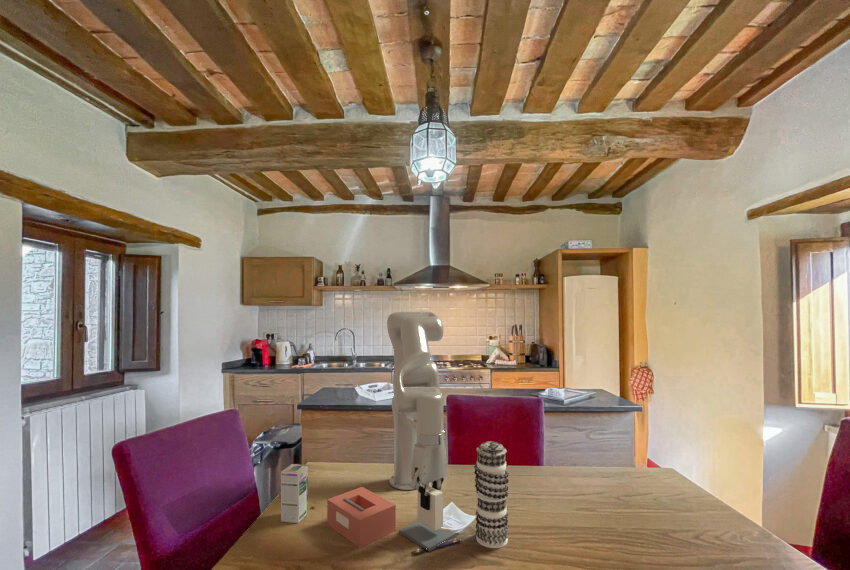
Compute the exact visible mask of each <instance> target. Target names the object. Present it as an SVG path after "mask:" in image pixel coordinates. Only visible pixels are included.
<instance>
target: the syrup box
mask: <svg viewBox="0 0 850 570" xmlns="http://www.w3.org/2000/svg"><path fill="white" fill-rule="evenodd" d="M308 467H309V466H308V464H301V463H294V464H293V463H291V464H289V466H287V467H285V468H284V469H283V470H281V471H280V521H281V522H284V523H292V524H300V522H301V521H302V520H303V519H304V518H305V517H306V516H307V515H308V514H309V496H308V494H309V481H308V480H309V472H308V471H309V468H308Z"/></svg>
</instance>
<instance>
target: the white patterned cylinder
mask: <svg viewBox="0 0 850 570" xmlns="http://www.w3.org/2000/svg"><path fill="white" fill-rule="evenodd" d="M476 451H477V453H476V454H477V458H476V462H475V463H474V466H473V467H474V468H473V469H474V472H473V473H474V474H475V479H474V482H475V484H474V486H475V490H476V491H475V495H476V497H477V503H476V510H475V515H476V516H475V521H476V523H475V528H476V529H475V535H476V536H475V537H476V538H475V539H476V541H477V543H478V544H479V545H481V546H483V547H485V548H489V549H500V548H503V547H505V546H506V545H507V544H508V541H509V540H508V539H509V536H508V535H509V532H508V531H509V526H508V522H509V521H508V520H509V519H508V516H509V514H508V512H507V510H508V509H507V508H508V507H507V505H506V504H507V498H508V497H509V492H507V491H508V490H509V486H508V485H506V484H508V483H509V472H507V471H506V470H507V467H508V464H507V461H506V458H507V457H506V453H507V452H508V450H507V449H506V448H505V447H504V446H503V444H502V443H499V442H497V441H491V440H490V441H484V442H482V443H481V444H480V445H479V446H478V447H476Z"/></svg>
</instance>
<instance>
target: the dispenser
mask: <svg viewBox="0 0 850 570" xmlns="http://www.w3.org/2000/svg"><path fill="white" fill-rule="evenodd" d="M326 506H327V507H326V508H327V511H326V516H327V517H326V524H327V526H328V527H330V528H331V529H333V530H334V531H335V532H337V533H338V534H340V535H341V536H342V537H344V538H346V539H347V540H348V541H349V542H350V543H352V544H353V545H354V546H356V547H358V548H359V549H361V548H363V547H365V546H367V545H370V544H371V543H373V542H376V541H377V540H379V539H381V538H383V537H385V536H387V535H390V534H391V533H393V532H395V531H396V529H397V528H396V524H397V523H396V522H397V521H396V517H397V516H396V515H397V512H396V511H397V510H396V509H397V507H396V506H397V505H396V504H395V503H392V502H391V501H389V500H387V499H386V498H383V497H382V496H380V495H379V494H376V493H374V492H373V491H371V490H369V489H367V488H365V487H363V486H360V487H358V488H355V489H352V490H349V491H346V492H344V493H340V494H338V495H335V496H333V497H329V498H328V499H327V505H326Z"/></svg>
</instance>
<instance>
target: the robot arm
mask: <svg viewBox="0 0 850 570" xmlns="http://www.w3.org/2000/svg"><path fill="white" fill-rule="evenodd" d="M386 326H387V327H386V328H387V334H388V338H389V340H390V342H391V345H392V349H393V363H394V365H393V367H394V368H393V369H394V375H393V379H392V381H393V382H392V389H393V391H392V392H393V396H392V399H391V410H392V417H393V475H392V476H391V477H389V484H390V486H391V487H393V488H395V489H397V490H400V491H401V490H402V491H410V490H412V491H413V490H416V491H417V493H418V492H419V493H420V506H421V507H422V508H424V509H426V510H430V495H429V494H428V493H429V486H430V485H431V486H430V487H432V488H434V489H437V490H439V491H441V490H442V484H443V482H444V480H445V479H446V478H447V477H448V475H449V474H448V463H447V462H448V458H447V449H446V443H445V440H444V435H445V431H444V396H443V393H442V391H441V387H440V386H441V385H440V384H441V383H440V374H439V373H440V372H439V369H438V366H437V364H436V362H435V361H433V360H431V352H430V351H431V350H430V345H429V342H439V341H441V340H442V338H443V337H444V324H443V322H442V320H441V318H440V317H439V316H438V315H437V314H435V313H434V312H432V311H396V312H393V313H391V314H389V315H388V317H387V321H386ZM415 421H416V422H415ZM423 485H425V486H424V488H423Z"/></svg>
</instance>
